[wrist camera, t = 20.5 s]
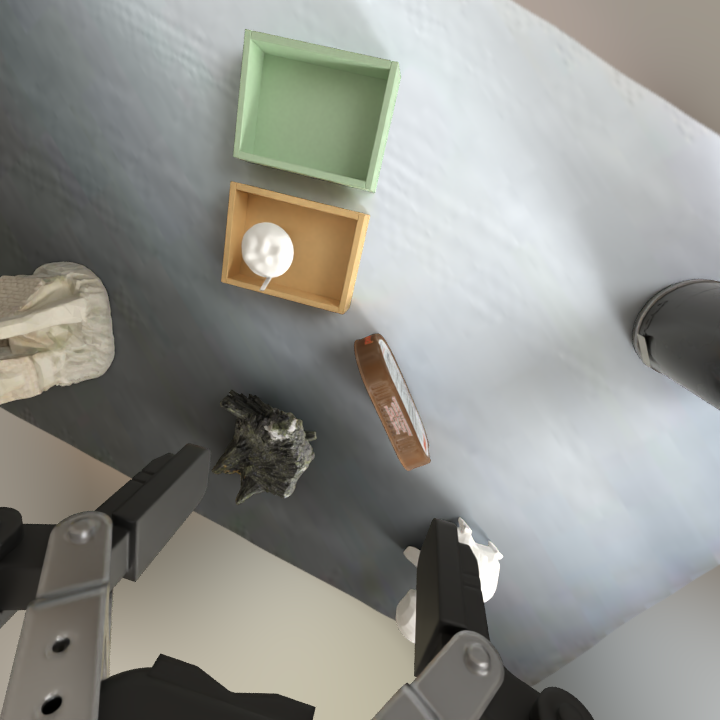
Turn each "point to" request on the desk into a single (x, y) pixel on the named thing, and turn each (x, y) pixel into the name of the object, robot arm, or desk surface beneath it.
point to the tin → (392, 401)
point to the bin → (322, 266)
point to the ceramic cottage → (53, 329)
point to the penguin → (488, 577)
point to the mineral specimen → (264, 448)
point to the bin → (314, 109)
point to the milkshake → (274, 249)
